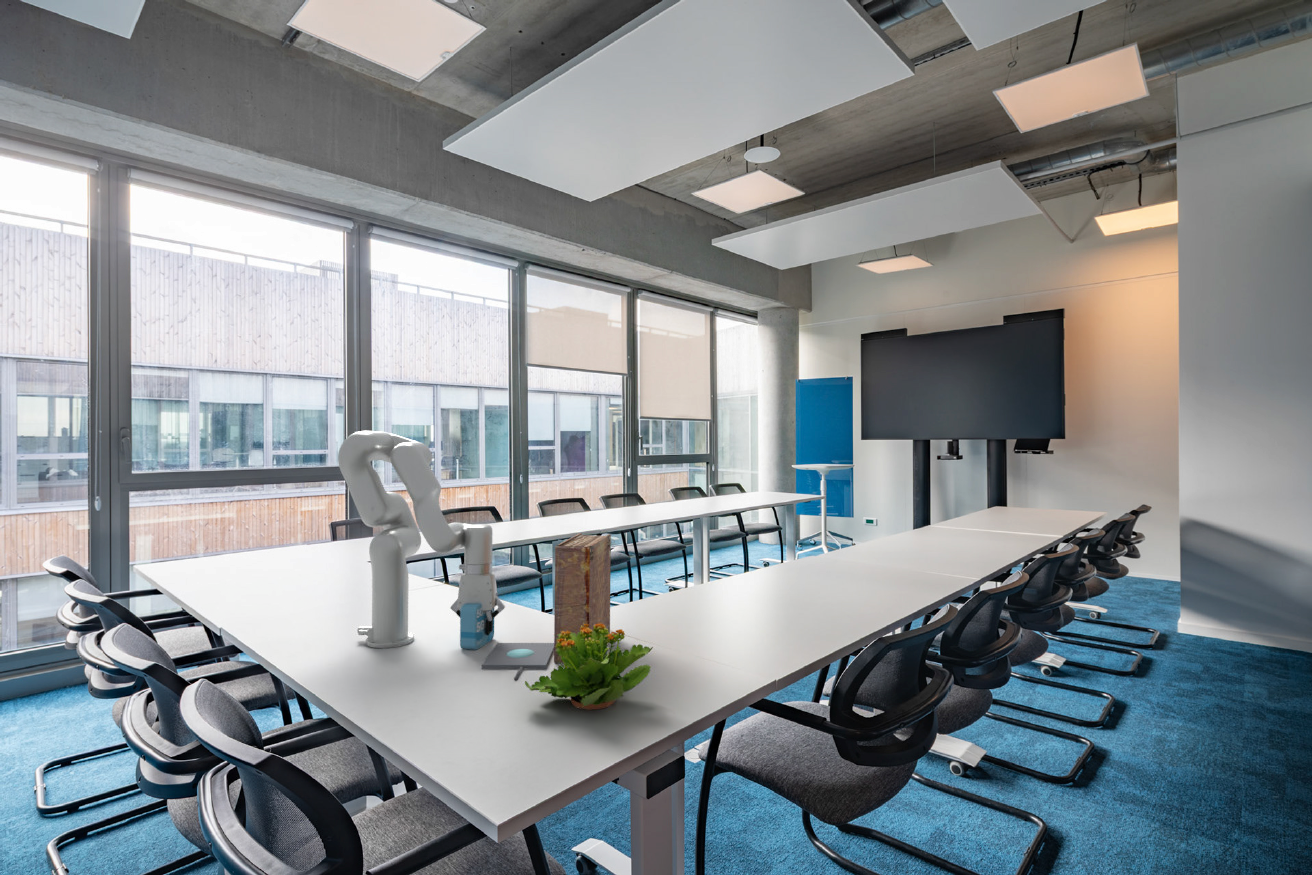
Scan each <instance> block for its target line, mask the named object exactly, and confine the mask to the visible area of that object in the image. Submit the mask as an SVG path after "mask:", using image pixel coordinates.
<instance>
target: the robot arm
mask: <svg viewBox="0 0 1312 875" xmlns="http://www.w3.org/2000/svg"><path fill="white" fill-rule="evenodd" d="M432 460H433V453H432V451H431V450H430V448H429V447H428V446H427V445H426V444H424V443H423V442H420V441H417V440H413V439H410V438H407V437H404V436H400V435H397V434H394V433H390V432H387V431H379V430H376V431H375V430H361V431H356V432H354V433H351V434H350V435H348V436H347V437H346V438H345V439H344V440H343V441H342V443H341V444H340V447H339V450H338V454H337V462H338V466H339V470H340V472H341V474H342V477H343V479H344V481H345V483H346V485H347V487H348V490H349V493H350V495H351V498H352V500H353V503H354V505H355V507H356V510H357V512H358V515H359V516H360V519H361V521H362V522H363V524H364V525H365V526H367V527H369V528H380V527H382V529H383V530H382V531H380V532H378V533H377V534H376V535H375V536H374V537H372V539H371V541H370V544H369V548H368V549H369V558H370V559H369V560H370V566H371V625H370V626H358V628H357V634H358V635H359V636H367V637H366V638H365V645H366V646H367V647H370V648H376V649H389V648H397V647H401V646H405V645H407V644H410V643H412V642H413V641H414V640H415V635H414V634H413V633H412V632H409V570H408V566H407V560H406V559H407V558H409V557H410V558H411V557H412V556H414V555H415V554H416V553H418V551H419V550H420V548H421V545H422V536H423V538H424V539H425V541H426V543H427V544H428V545H429V547H430V548H431V550H433V551H434V552H436V553H438V554H443V555H446V554H449V553H452V552H454V551H457V550H459V549H464V562H463V564H459V565H458V569H459V570H462V571H463V573H461V575H460V577H459V578H460V579H459V585H458V593H457V595H458V596H457V599H456V600H455V601H454V602H453V603H452V605H451V606H450V609H451V610H452V611H453V612H454V613H455V614H456V616H458V617H459V618H460V611H461V607H462V605H464V604H482V611H485V612H486V615H487V621H486V635H489V634H490V633H491V631H493V618H494V619H495V618H496V616H498V615H499V614H500V613H501V612H502V611H503V610H505V608H506V605H505V604H504V603H503V602H502V600H501V599H500V598H499V597H498V591H497V589H498V588H497V581H496V579H497V578H496V576H495V572H493V527H492V526H491V525H490V524H486V523H475V524H472V523H471V524H470V523H463V522H455V521H454V522H451V523H448V522H447V520H446V518H445V516H444V514H443V512H442V509H441V507H440V496H441V490H442V486H441V484H440V481H439V480H438V478H437V477H436V475H435V473H434V472H433V470H432V468H431V467H430V465H431V463H432ZM373 461H374V462H375V461H383V462H386V463H390V464H391V466H392V468H393V469H394V471H395V472H396V474H397V476H398V478H399V479H400V482H401V483H402V484H403V486H404V489H405V490H406V492H407V493H408V495H409V498H410V499H411V500H412V506H413V507H412V508H413V511H414V512H413V513H414V516H413V514H412V512H411V509H410V507H409V504H408V503H407V501H406V499H405V498H404V496H402V495H401V494H400V493H397V492H395V491H386V490H385V487H384V485H383V483H382V481H381V478H380V476H379V474H378V472H377V470H375V468H374V467H373V466H372V463H371V462H373ZM414 517H415V518H414ZM415 520H416V521H415ZM420 532H421V533H420ZM421 535H422V536H421ZM496 606H497V608H496ZM495 608H496V609H495ZM493 609H494V612H493Z"/></svg>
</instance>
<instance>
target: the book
mask: <svg viewBox="0 0 1312 875" xmlns="http://www.w3.org/2000/svg"><path fill="white" fill-rule="evenodd" d="M611 539H612V535H611V533H608V534H606V535H591V534H589V535H588V534H587V535H586V534H583V533H582V532H579V533H578V534H577V533H576V534H575V535H573V536H572V537H569V538H568V539H566V540H565V541H562V542H561V543H559V544H556V546H555V548H554V549H555V550H554V617H553V618H554V620H553V621H554V625H553V626H554V631H553V633H554V634H553V643H554V651H553V663H555V664H560V663H561V664H564V663H563V661H562V660H561V659H560V658H561V656H559V654H557V652H556V649H557V648H556V644H557V642H556V639H557V638H559V637H558V636H557V634H561V632H562V631H564V632H566V631H570V632H572V633H576V635H577V633H578V632H580V630H579V629H580V628H581V625H582V626H583V627H584V624H589V626H588V627H589V629H591V630H594V627H593V626H594V625H595V624H597V623H602V624H604V625H605V628H606V629H608V632H609V634H611V567H612V565H611V558H612V557H611V556H612V555H611V552H612V551H611V550H612V549H611V548H612V546H611V545H612V543H611ZM606 635H607V634H606ZM559 662H560V663H559Z"/></svg>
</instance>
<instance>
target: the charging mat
mask: <svg viewBox="0 0 1312 875" xmlns="http://www.w3.org/2000/svg"><path fill="white" fill-rule="evenodd" d="M553 655H554V642H496V644H495V646H494V647H493V648H492V650H491V651H490V652H489V654H488V656H487V657H486V658H485V660H484V661H483V663H482V664H481V670H518V671H517V673H516V674H515V675H514V678H513V679H514V680H515V681H517V680H518V679H519V677H520V675H521V673H522V672H523V670H547V668H548V665H549V664H550V660H551V659H552V656H553Z"/></svg>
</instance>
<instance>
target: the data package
mask: <svg viewBox="0 0 1312 875" xmlns="http://www.w3.org/2000/svg"><path fill="white" fill-rule="evenodd" d="M494 611H495V608H494V609H493V612H494ZM459 618H460V620H459V621H460V622H459V624H460V626H459V631H460V633H459V646H460V648H461V649H463V650H464V649H465V650H473V651H474V650H475V651H477V650H478V649H481V647H484V646H485V645H486V644H488V643H489V642H491V641H492V640H493V639H494V637H495V617H494V618H493V631H491V633H490V634H489V635H486V621H487V615H486V612H485V611H482V604H464V605H462V607H461V611H460V617H459Z"/></svg>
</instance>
